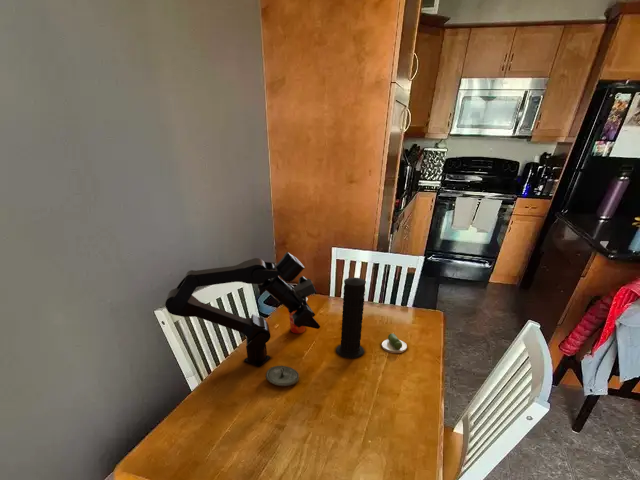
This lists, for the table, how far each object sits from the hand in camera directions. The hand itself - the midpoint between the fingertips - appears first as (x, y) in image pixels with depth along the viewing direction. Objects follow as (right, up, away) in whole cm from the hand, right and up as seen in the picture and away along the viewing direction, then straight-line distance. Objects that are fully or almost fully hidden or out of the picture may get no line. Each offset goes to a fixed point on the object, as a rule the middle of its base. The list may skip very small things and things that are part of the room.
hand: (316, 321), depth 120 cm
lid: (-11, -19, -5) cm, 23 cm away
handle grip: (+12, -9, +9) cm, 18 cm away
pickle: (+28, -7, +12) cm, 31 cm away
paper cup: (-7, 0, +22) cm, 23 cm away
